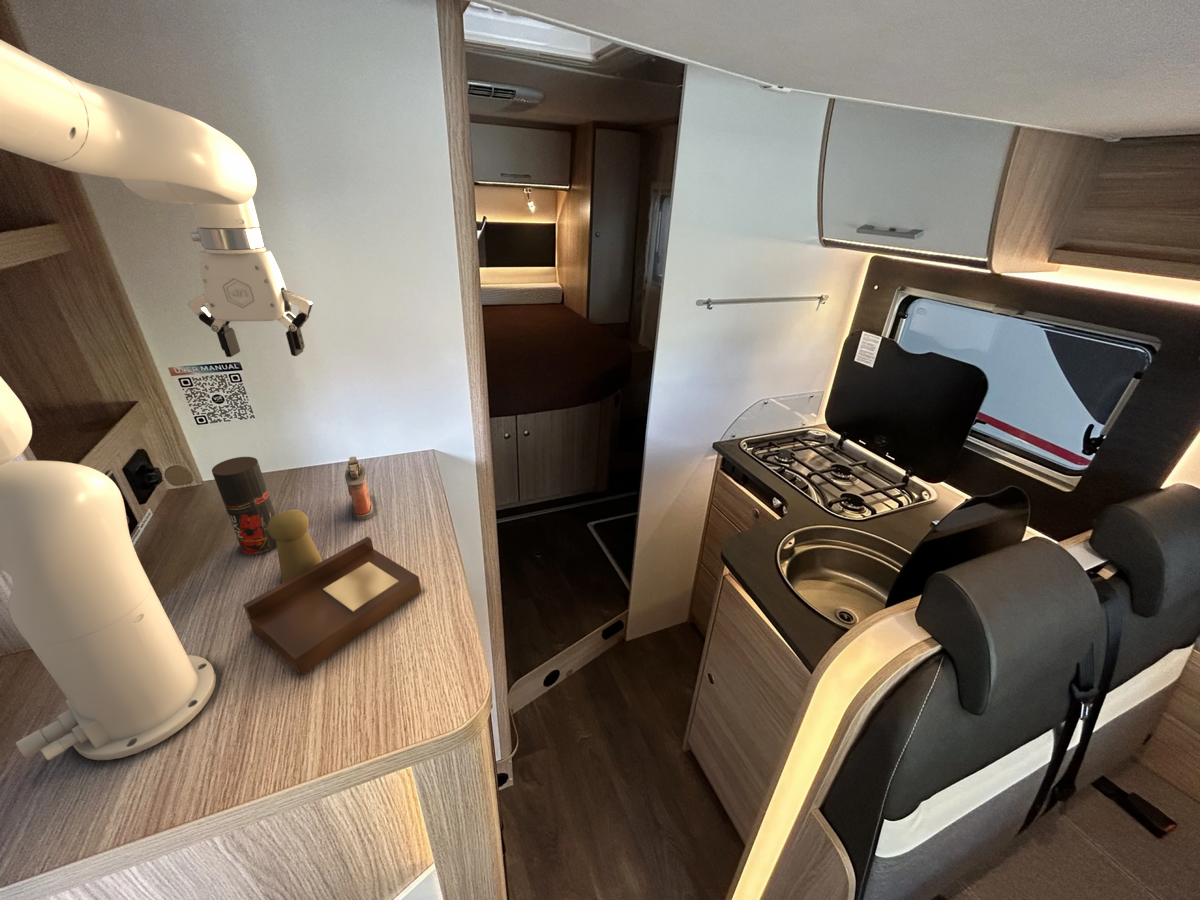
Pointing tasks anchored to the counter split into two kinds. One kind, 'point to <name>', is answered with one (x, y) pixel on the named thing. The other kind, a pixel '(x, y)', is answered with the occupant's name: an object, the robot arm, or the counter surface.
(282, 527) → the cork
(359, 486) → the lighter
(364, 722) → the counter surface
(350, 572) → the shelf
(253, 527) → the deodorant
